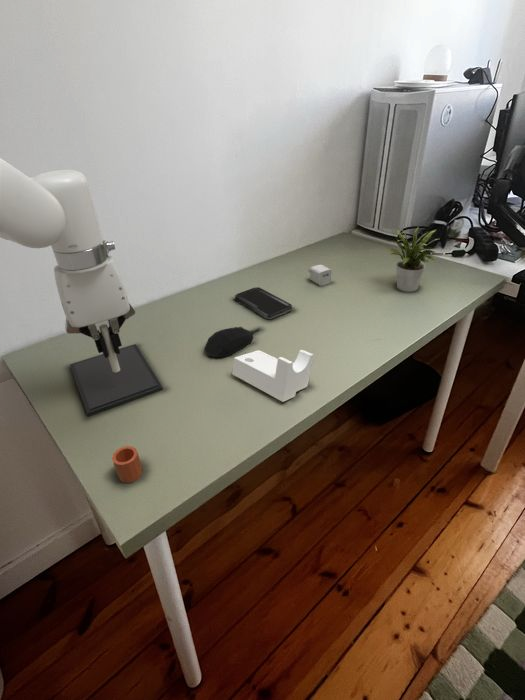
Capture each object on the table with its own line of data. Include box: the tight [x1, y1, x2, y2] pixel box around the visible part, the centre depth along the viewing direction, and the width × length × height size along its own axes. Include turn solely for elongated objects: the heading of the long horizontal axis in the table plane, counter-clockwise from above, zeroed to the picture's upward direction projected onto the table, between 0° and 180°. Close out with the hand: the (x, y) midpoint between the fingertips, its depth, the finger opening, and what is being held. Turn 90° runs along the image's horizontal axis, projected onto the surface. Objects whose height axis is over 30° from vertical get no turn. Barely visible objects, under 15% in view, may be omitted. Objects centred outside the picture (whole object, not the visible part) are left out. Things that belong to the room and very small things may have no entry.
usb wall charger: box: [307, 263, 333, 287], centre depth 119 cm, size 4×7×4 cm, turn 29°
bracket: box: [231, 349, 314, 403], centre depth 82 cm, size 13×7×8 cm, turn 47°
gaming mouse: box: [204, 326, 260, 358], centre depth 94 cm, size 6×15×4 cm, turn 134°
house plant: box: [384, 225, 439, 293], centre depth 109 cm, size 14×14×16 cm
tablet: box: [69, 343, 164, 417], centre depth 86 cm, size 14×18×1 cm
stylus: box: [98, 323, 120, 372], centre depth 78 cm, size 1×1×10 cm
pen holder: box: [111, 445, 143, 484], centre depth 65 cm, size 4×4×4 cm
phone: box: [234, 286, 293, 320], centre depth 109 cm, size 8×1×15 cm
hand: (110, 351), depth 78 cm, fingers closed on stylus, 1 cm apart
